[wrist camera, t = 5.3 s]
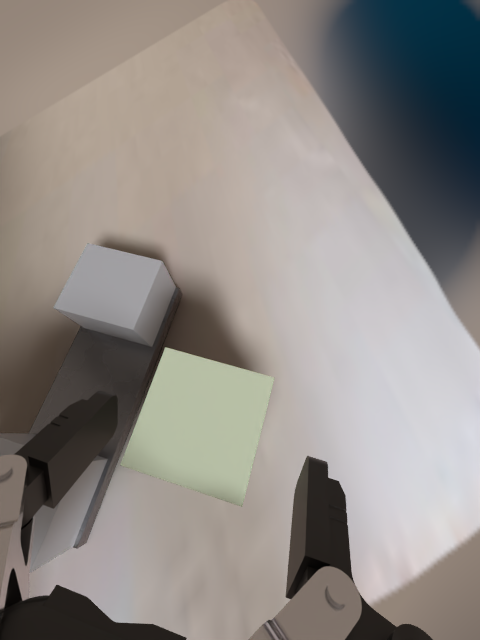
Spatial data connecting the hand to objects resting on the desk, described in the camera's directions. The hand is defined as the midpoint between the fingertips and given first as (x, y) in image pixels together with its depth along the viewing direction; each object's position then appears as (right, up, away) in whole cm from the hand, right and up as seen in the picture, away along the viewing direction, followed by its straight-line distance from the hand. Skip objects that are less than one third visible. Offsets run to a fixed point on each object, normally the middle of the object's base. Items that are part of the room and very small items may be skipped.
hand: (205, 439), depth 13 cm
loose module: (0, -2, +7) cm, 7 cm away
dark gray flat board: (-8, 0, +8) cm, 11 cm away
